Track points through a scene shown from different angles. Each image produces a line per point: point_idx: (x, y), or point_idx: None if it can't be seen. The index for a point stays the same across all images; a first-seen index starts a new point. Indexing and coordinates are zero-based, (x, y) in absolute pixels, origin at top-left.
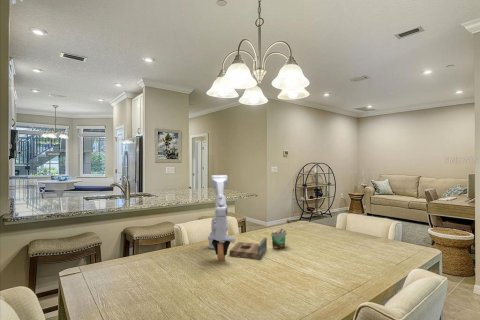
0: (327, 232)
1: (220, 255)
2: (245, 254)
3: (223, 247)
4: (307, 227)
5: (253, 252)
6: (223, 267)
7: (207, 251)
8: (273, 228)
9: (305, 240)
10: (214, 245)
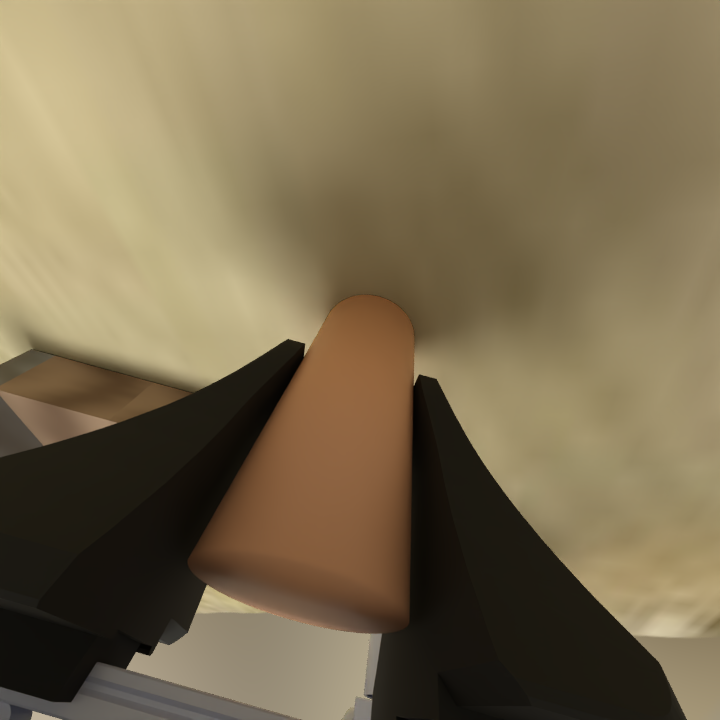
0: None
1: (357, 336)
2: (138, 406)
3: (252, 453)
4: None
5: (47, 412)
6: (265, 10)
7: (523, 511)
8: (225, 608)
9: None
10: (509, 546)
